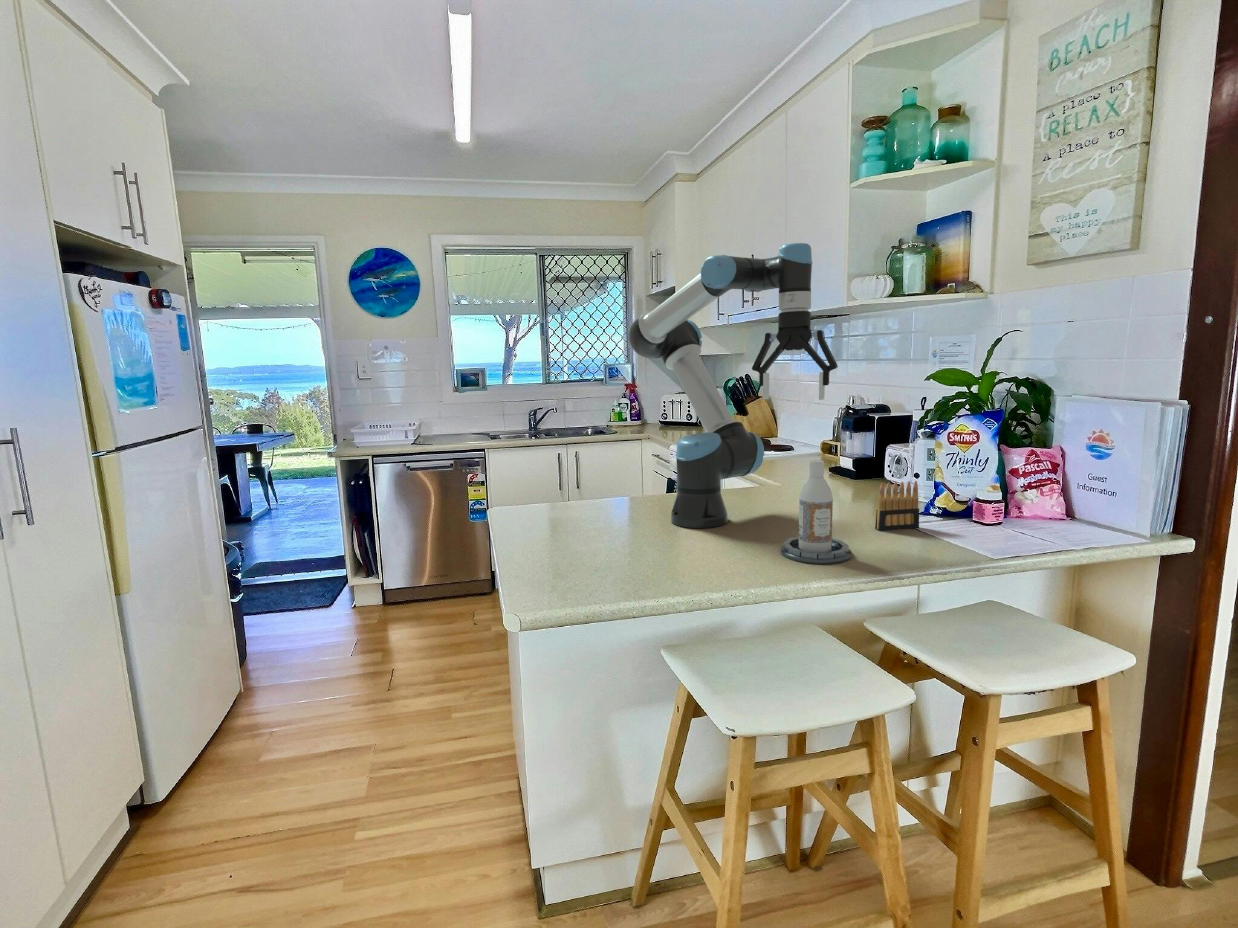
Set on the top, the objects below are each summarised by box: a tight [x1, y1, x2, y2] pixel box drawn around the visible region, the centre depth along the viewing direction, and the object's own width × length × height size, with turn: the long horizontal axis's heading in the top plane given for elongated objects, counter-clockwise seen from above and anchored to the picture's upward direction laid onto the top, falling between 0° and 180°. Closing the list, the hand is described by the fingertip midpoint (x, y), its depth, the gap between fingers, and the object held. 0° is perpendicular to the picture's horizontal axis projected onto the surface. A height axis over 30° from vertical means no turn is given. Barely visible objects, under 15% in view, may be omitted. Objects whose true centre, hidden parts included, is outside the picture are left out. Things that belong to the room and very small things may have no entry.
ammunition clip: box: [874, 480, 920, 532], centre depth 154 cm, size 11×2×12 cm, turn 97°
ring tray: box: [780, 536, 853, 565], centre depth 138 cm, size 15×15×2 cm
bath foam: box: [798, 459, 834, 553], centre depth 136 cm, size 7×7×20 cm
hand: (793, 399), depth 154 cm, fingers open, 13 cm apart
